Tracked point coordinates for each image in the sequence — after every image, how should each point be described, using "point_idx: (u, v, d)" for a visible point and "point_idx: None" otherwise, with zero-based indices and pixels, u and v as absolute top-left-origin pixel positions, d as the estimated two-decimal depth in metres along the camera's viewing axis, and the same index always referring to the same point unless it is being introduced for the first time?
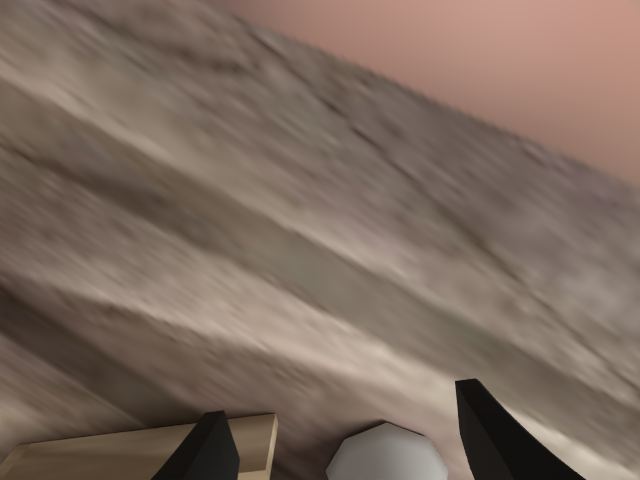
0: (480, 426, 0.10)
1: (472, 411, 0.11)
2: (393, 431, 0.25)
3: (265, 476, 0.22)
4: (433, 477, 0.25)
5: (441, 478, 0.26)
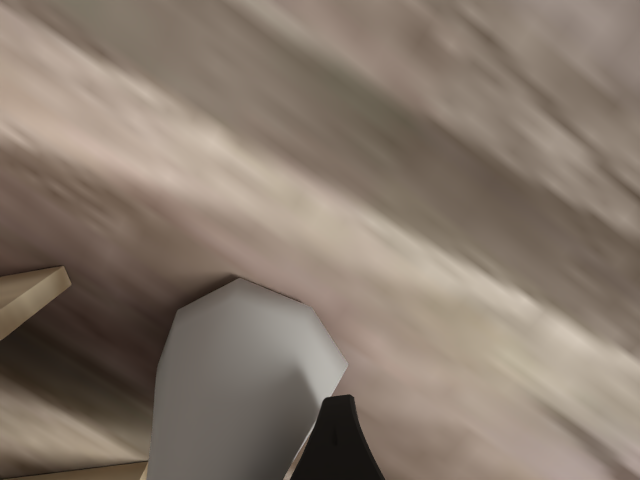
0: None
1: (329, 428, 0.11)
2: (247, 290, 0.15)
3: None
4: (309, 363, 0.15)
5: (328, 369, 0.16)
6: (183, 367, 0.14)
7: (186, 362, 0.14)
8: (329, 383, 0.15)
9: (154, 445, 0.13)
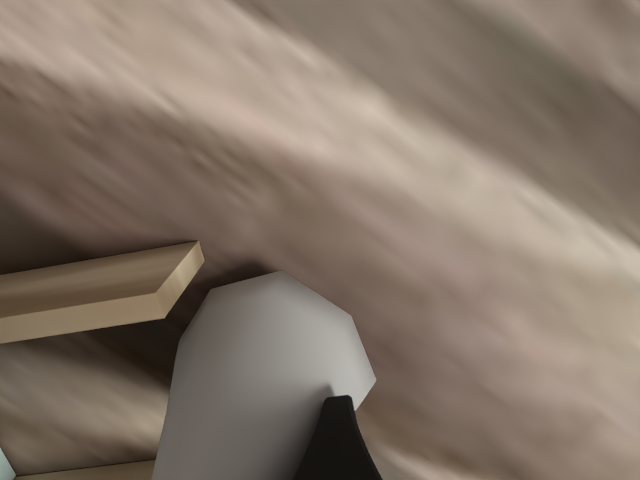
0: None
1: (326, 428, 0.11)
2: (288, 286, 0.14)
3: (157, 308, 0.12)
4: (339, 376, 0.14)
5: (356, 384, 0.15)
6: (208, 356, 0.13)
7: (212, 352, 0.13)
8: (354, 399, 0.14)
9: (167, 433, 0.12)
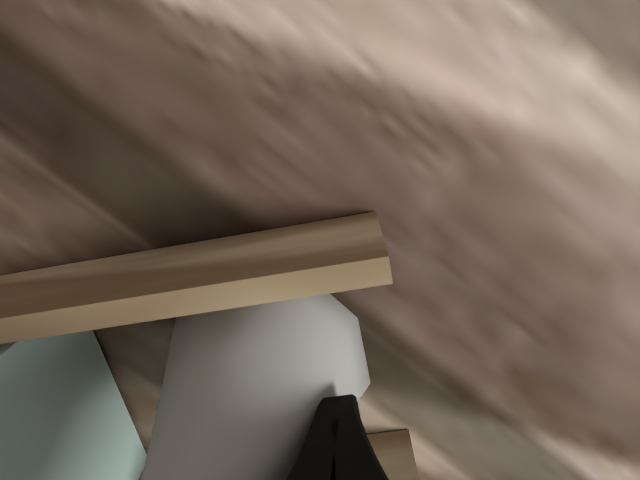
0: None
1: (331, 428, 0.11)
2: None
3: (386, 272, 0.11)
4: (340, 377, 0.14)
5: (353, 387, 0.15)
6: (214, 344, 0.13)
7: (218, 339, 0.13)
8: None
9: (164, 417, 0.12)
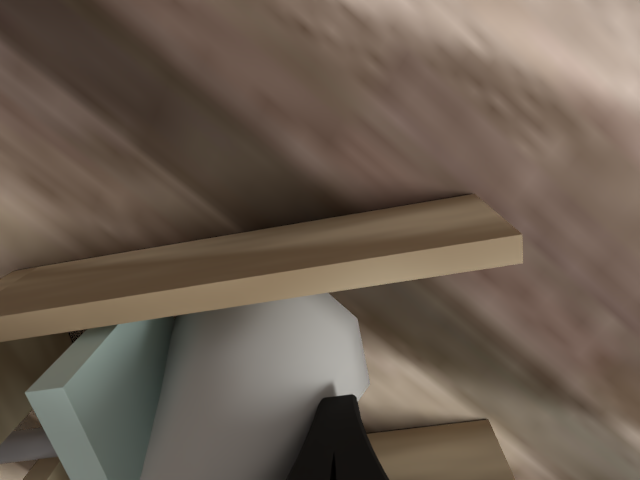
0: None
1: (332, 428, 0.11)
2: None
3: (517, 251, 0.11)
4: (339, 378, 0.14)
5: (353, 387, 0.15)
6: (213, 344, 0.13)
7: (217, 340, 0.13)
8: None
9: (164, 417, 0.12)
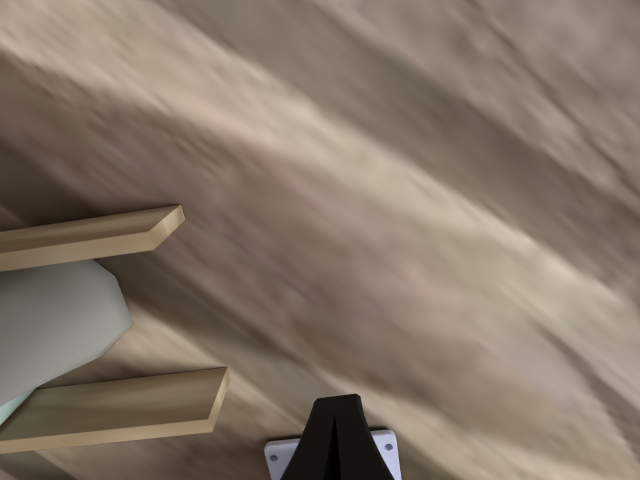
0: None
1: (336, 427, 0.11)
2: None
3: (149, 242, 0.18)
4: (96, 312, 0.22)
5: (111, 321, 0.22)
6: (0, 289, 0.20)
7: (4, 286, 0.20)
8: (108, 330, 0.22)
9: None
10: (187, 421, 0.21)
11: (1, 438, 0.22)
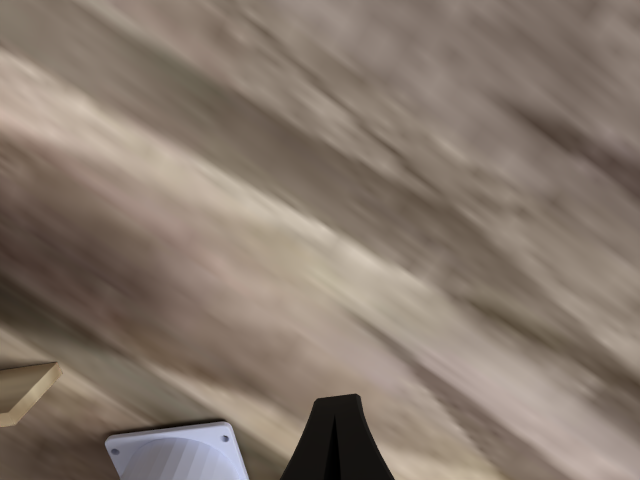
0: None
1: (336, 427, 0.11)
2: None
3: None
4: None
5: None
6: None
7: None
8: None
9: None
10: None
11: None
